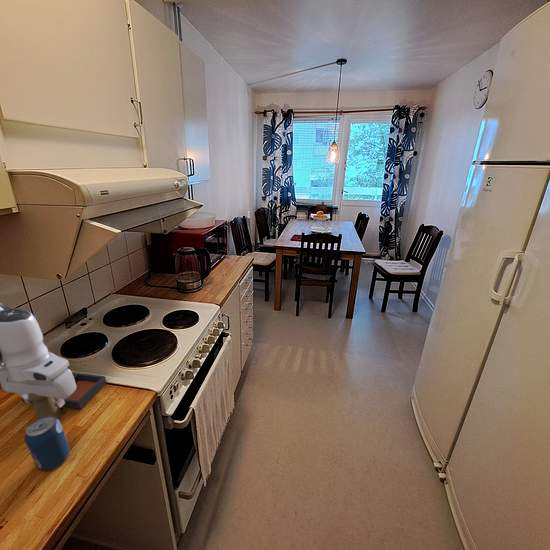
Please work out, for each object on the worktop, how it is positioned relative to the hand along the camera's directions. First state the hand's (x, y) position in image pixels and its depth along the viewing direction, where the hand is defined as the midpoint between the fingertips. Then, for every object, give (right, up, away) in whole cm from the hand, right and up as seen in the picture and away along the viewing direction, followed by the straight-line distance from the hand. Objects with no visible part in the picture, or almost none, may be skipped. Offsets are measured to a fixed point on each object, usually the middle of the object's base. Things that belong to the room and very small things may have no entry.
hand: (45, 403), depth 82 cm
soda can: (+10, -10, -10) cm, 17 cm away
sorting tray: (-2, -1, +11) cm, 11 cm away
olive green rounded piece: (-1, -5, +2) cm, 5 cm away
